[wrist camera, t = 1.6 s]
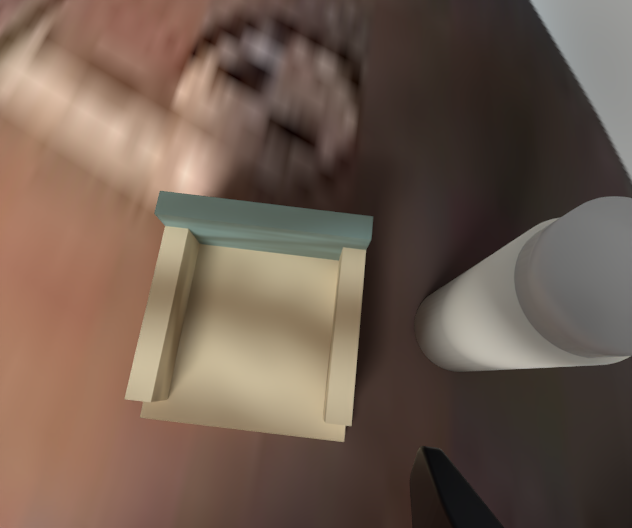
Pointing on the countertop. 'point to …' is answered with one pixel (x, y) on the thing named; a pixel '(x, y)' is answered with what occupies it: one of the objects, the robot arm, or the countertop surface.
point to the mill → (540, 298)
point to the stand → (252, 317)
